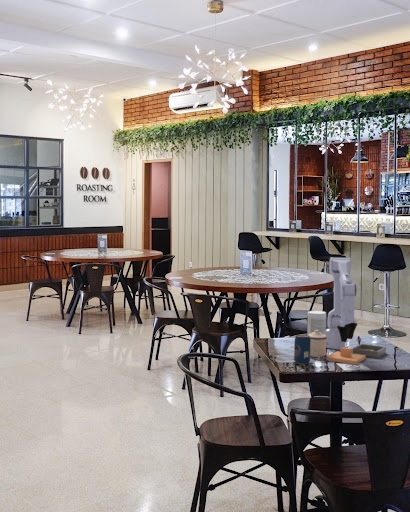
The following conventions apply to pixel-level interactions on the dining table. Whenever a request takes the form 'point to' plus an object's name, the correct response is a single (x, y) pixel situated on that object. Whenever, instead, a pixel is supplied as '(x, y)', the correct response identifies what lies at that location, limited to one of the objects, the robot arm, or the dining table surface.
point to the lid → (346, 356)
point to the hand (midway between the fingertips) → (346, 340)
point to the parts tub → (369, 350)
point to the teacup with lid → (317, 344)
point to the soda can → (302, 349)
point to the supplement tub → (316, 322)
